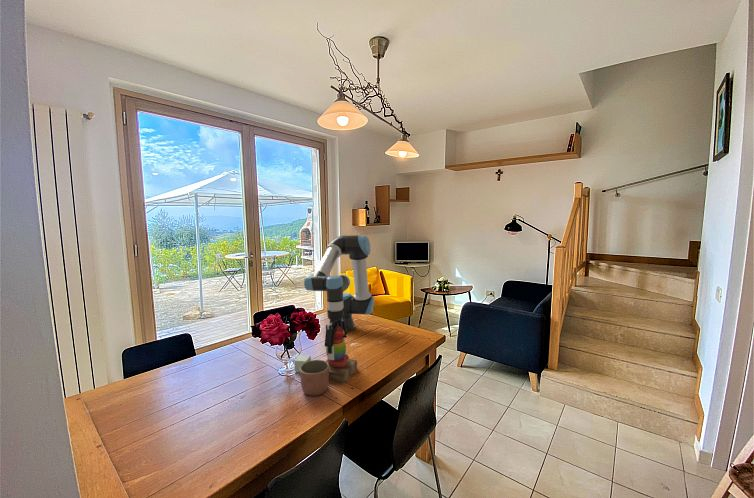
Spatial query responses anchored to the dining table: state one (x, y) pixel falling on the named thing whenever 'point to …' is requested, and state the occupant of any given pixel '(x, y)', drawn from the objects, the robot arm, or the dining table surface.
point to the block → (301, 361)
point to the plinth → (342, 372)
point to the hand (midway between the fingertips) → (336, 354)
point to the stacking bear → (338, 350)
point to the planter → (314, 377)
